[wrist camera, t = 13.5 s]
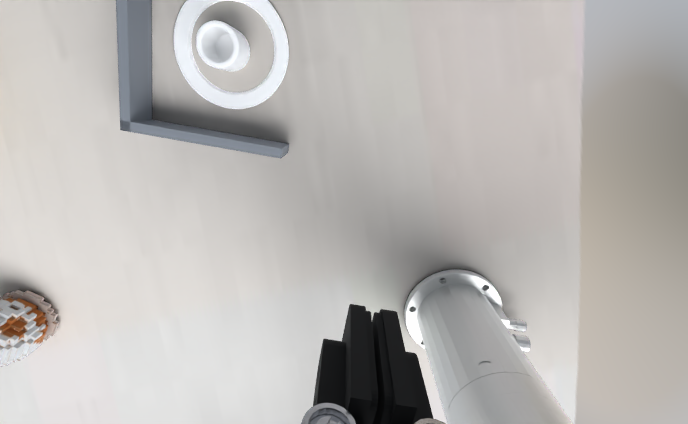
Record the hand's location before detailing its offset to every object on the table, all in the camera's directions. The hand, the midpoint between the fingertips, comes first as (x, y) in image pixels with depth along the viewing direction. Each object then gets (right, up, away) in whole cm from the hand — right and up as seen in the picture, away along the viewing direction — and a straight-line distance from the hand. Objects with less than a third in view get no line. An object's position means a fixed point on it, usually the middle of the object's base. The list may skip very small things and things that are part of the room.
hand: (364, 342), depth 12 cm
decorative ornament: (-43, -9, +35) cm, 56 cm away
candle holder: (-12, +22, +24) cm, 35 cm away
